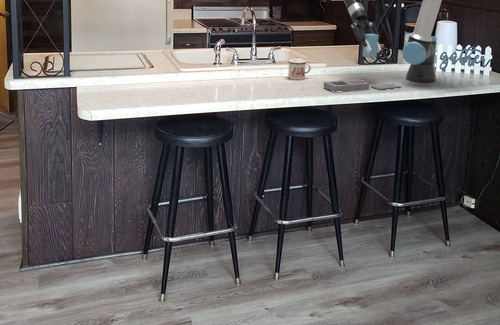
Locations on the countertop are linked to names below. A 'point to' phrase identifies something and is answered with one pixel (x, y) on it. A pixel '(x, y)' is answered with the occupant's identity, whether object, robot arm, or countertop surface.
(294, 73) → the teacup with lid
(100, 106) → the countertop surface
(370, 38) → the brick
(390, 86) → the phone
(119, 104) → the countertop surface
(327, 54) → the countertop surface
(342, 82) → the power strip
